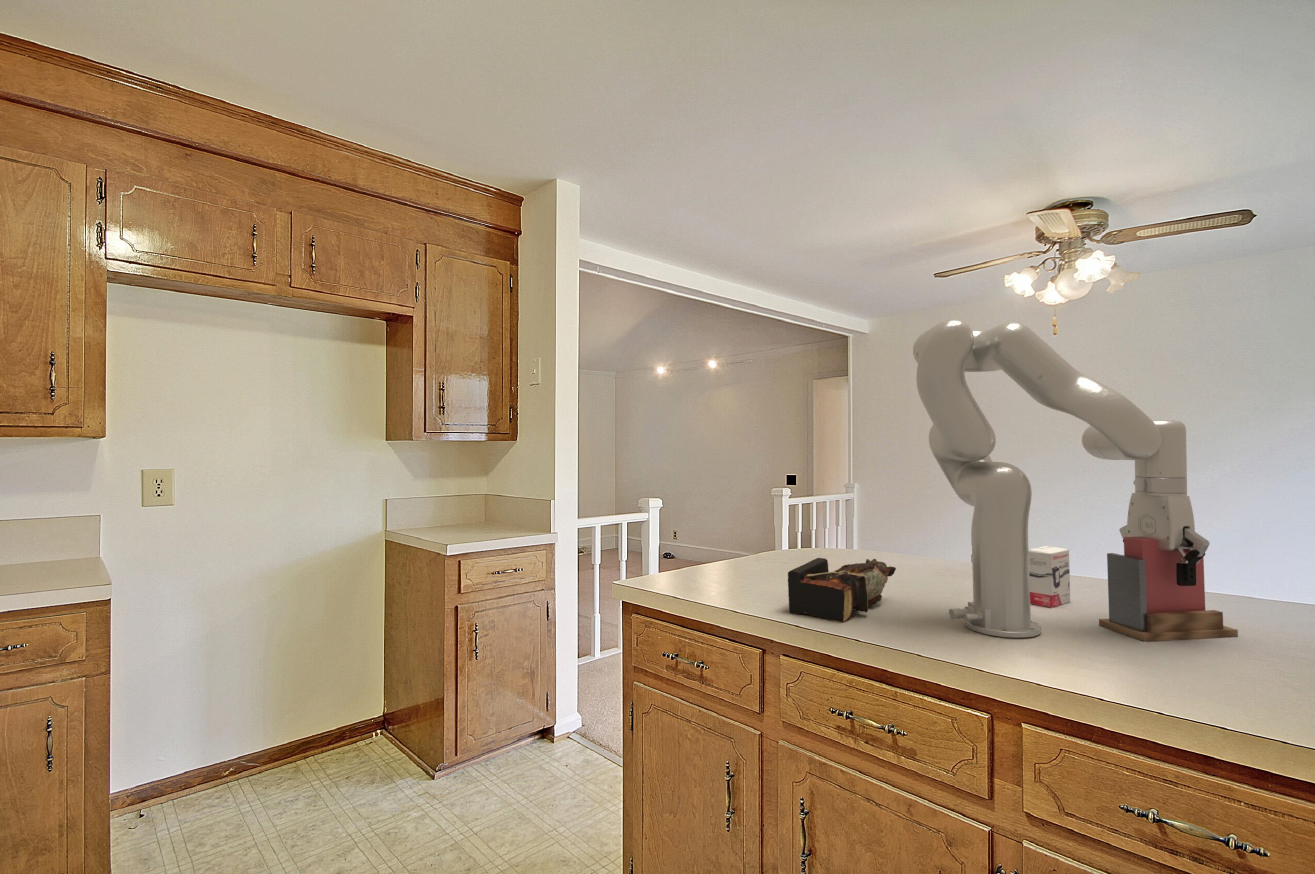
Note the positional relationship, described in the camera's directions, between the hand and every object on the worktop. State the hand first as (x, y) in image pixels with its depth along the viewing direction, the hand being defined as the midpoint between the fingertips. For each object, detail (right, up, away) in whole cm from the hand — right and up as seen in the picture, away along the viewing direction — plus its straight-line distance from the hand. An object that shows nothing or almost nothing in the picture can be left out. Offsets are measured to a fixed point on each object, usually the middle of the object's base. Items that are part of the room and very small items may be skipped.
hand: (1161, 579), depth 115 cm
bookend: (-52, -11, +22) cm, 57 cm away
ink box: (-7, -10, +21) cm, 25 cm away
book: (0, -8, 0) cm, 8 cm away
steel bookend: (-7, -10, -1) cm, 12 cm away
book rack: (+1, -9, 0) cm, 9 cm away
